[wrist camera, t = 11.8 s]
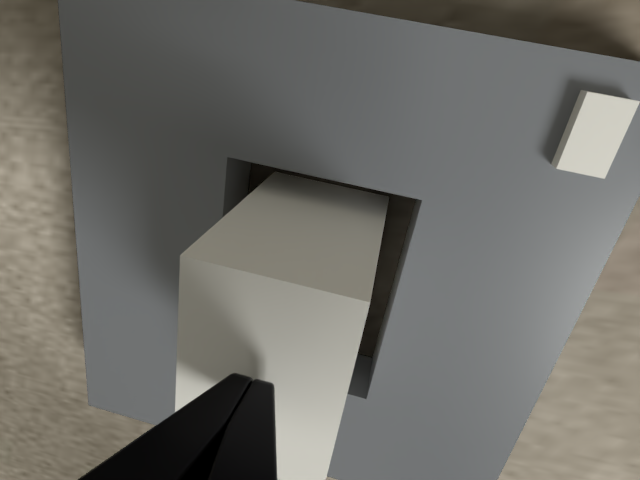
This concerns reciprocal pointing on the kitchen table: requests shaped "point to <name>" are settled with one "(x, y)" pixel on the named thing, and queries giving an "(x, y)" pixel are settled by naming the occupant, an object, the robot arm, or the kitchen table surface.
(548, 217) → the socket plate
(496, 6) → the kitchen table surface
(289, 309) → the plug
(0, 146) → the kitchen table surface
